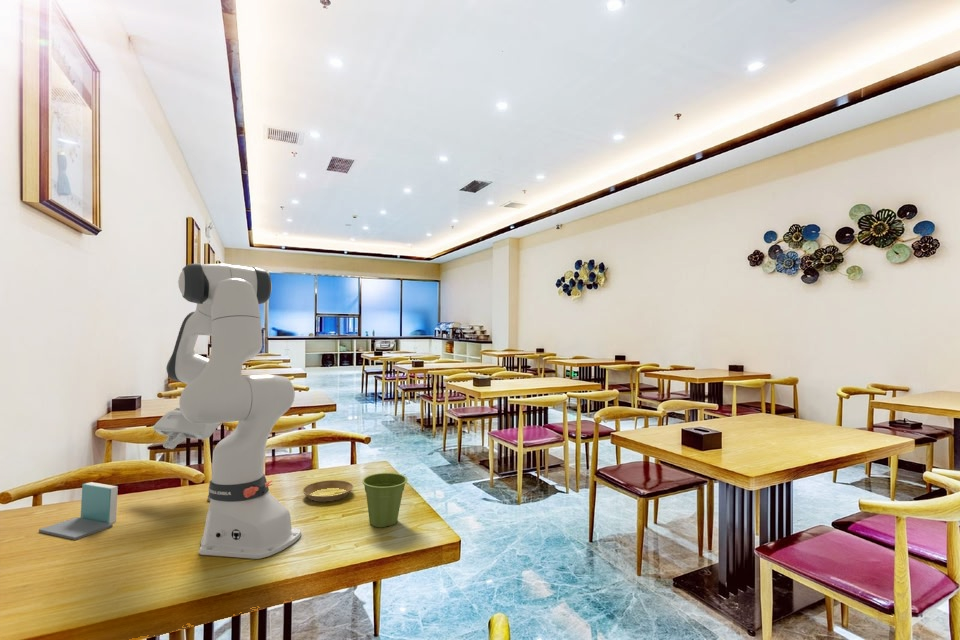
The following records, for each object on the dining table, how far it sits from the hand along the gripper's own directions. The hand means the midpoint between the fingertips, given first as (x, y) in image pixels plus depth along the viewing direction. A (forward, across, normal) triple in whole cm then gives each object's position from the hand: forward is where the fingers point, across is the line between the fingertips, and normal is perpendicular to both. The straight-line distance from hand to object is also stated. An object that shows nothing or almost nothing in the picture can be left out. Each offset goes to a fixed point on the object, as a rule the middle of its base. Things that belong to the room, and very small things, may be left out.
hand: (167, 447), depth 134 cm
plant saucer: (-2, +44, +23) cm, 50 cm away
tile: (+23, 0, -2) cm, 23 cm away
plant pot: (+6, +70, +15) cm, 72 cm away
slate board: (+27, +1, -6) cm, 28 cm away
